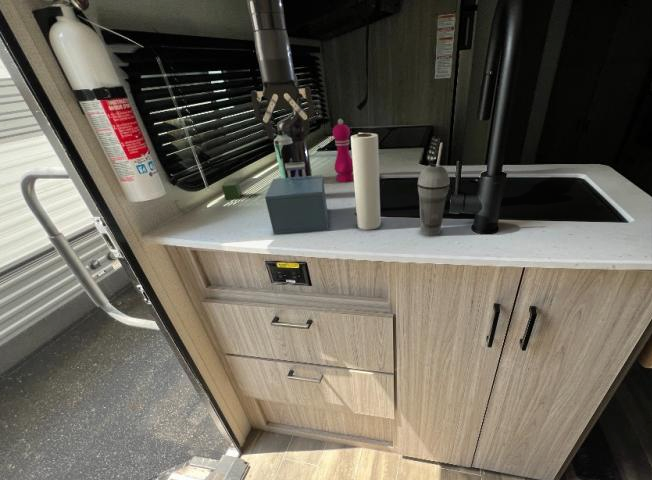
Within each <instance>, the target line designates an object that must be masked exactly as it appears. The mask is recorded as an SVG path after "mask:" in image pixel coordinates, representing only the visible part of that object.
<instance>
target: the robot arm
mask: <svg viewBox="0 0 652 480" xmlns="http://www.w3.org/2000/svg"><path fill="white" fill-rule="evenodd" d="M245 2H246V4H247V9H248V14H249V19H250V23H251V26H252V31H253V39H254V47H255V53H256V58H257V61H258V66H259V71H260V76H261V82H262V86H263V87H262V88H263V89H262V90H251V92H250V97H251V103H252V108H253V114H254V119H255V120H256V121H260V122H262V123H263V124H264V128H265V132H266V133H265V134H266V136H267V137H268V138H269V139H270V140H271V141H274V139H275V135H274V129H273V125H272V124H273V123H272V121H271V118H272V115H273V114H274V111H277V112H278V111H279V112H281V111H284V110H286V111H291V110H292V111H291V112H290V114H289V115H287V116H286V117H284V118H282V119H280V120H279V121H277V123H276V129H277V132H278V131H280V130H284V133H285V134H287V136H288V137H290V138H292V141H293V147H294V152H295V158H296V163H297V162H304V163H305V174H306V176H313V174H312V173H313V172H312V166H311V161H310V160H311V159H310V153H309V146H308V141H307V137H308V136H309V135H310V132H311V129H310V122H309V119H310V118H312V117H314V116H315V107H314V101H313V96H312V91H311V88H310V86H305V87H301V88H300V83H299V79H298V77H297V75H296V73H295V68H294V62H293V55H292V49H291V43H290V39H289V34H288V31H287V23H286V17H285V11H284V2H283V0H245ZM301 96H302V98H303V99H306V104H307V109H308V111H305V110H304V109H303V108H302V98H301ZM262 98H264V99H265V100H266V101H267V103H268V106H267V108H266V111H265V113H264V114H262V110H261V105H260V104H261V103H260V102H261V101H262V100H263V99H262ZM278 134H279V133H277V135H278ZM298 175H299V177H303V173H302V169H301V170H298Z"/></svg>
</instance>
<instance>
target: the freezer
mask: <svg viewBox="0 0 652 480" xmlns="http://www.w3.org/2000/svg"><path fill="white" fill-rule="evenodd" d="M265 205H266V208H267V213H268V216H269V220H270V225H271V228H272V232H273V235H282V234H294V233H303V232H314V231H322V230H323V231H326V230H328V227H329V225H328V205H327V197H326V190H325V182H324V180H323V195H316V196H304V197H293V198H282V199H271V200H265Z"/></svg>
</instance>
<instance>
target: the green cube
mask: <svg viewBox="0 0 652 480" xmlns="http://www.w3.org/2000/svg"><path fill="white" fill-rule="evenodd" d="M240 185H241V184H240V182H239V180H238V181H225V182H224V183H223V184H222V185H221V189H222V192H223V195H224V198H225V200H239V199H240V198H241V197H242V195H243V193H242V189H241V186H240Z"/></svg>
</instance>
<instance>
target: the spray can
mask: <svg viewBox="0 0 652 480" xmlns="http://www.w3.org/2000/svg"><path fill="white" fill-rule="evenodd" d="M277 132H278V133H279V134H278V133H277V135H276V137H275V138H274V140H273V145H274V146H273V147H274V150H275V155H276V160H277V165H278V169H279V174H280V175H279V176H280V178H288V173H287V171H286V167H285V163H296V158H295V152H294V147H293V141H292V138H290V137H288V136H287V134H285V133H284V130H280V131H278V130H277ZM290 174H291V177H299V175H298V170H290Z"/></svg>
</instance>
